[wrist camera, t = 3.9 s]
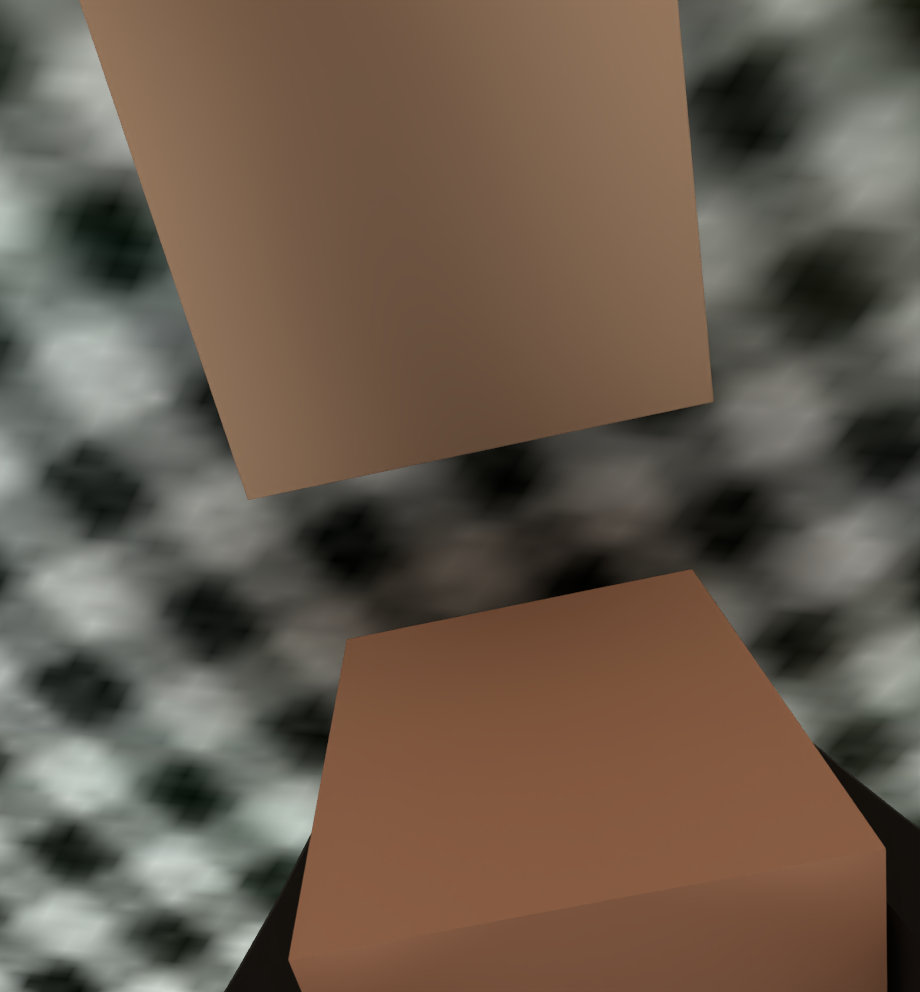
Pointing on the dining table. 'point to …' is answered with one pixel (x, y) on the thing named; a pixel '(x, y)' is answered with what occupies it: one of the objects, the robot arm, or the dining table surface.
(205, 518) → the dining table surface
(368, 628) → the dining table surface
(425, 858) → the terracotta block
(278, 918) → the robot arm
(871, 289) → the dining table surface
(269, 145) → the walnut block
